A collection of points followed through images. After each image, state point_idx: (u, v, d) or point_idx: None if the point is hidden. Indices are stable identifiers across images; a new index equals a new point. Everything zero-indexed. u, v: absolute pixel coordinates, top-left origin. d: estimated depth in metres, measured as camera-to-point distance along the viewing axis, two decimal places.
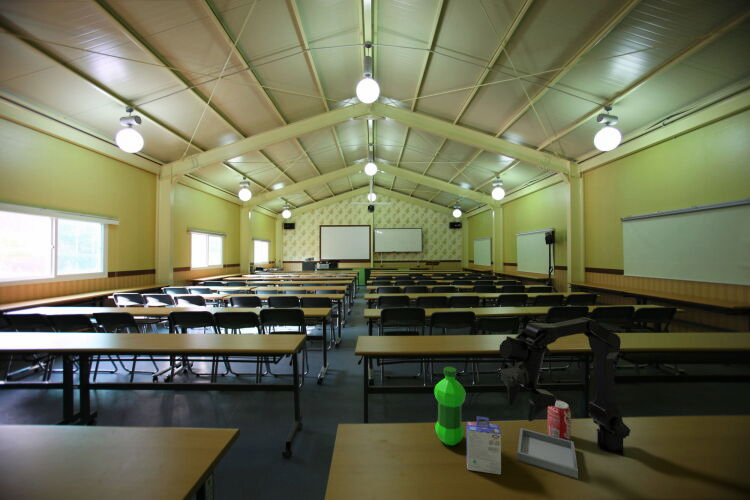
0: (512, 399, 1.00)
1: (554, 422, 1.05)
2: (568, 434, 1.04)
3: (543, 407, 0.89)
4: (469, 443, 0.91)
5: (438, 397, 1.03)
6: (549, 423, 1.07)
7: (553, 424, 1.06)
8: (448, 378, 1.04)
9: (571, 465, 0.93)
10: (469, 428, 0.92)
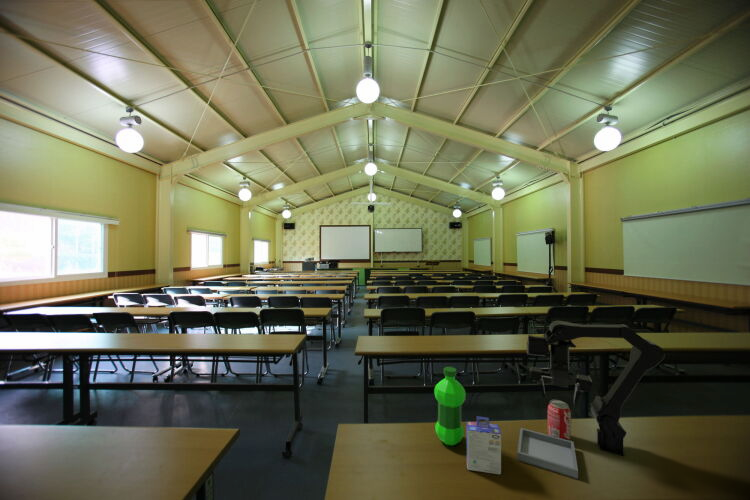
0: (544, 393, 1.09)
1: (554, 422, 1.05)
2: (568, 434, 1.04)
3: None
4: (469, 443, 0.91)
5: (438, 397, 1.03)
6: (549, 423, 1.07)
7: (553, 424, 1.06)
8: (448, 378, 1.04)
9: (571, 465, 0.93)
10: (469, 428, 0.92)
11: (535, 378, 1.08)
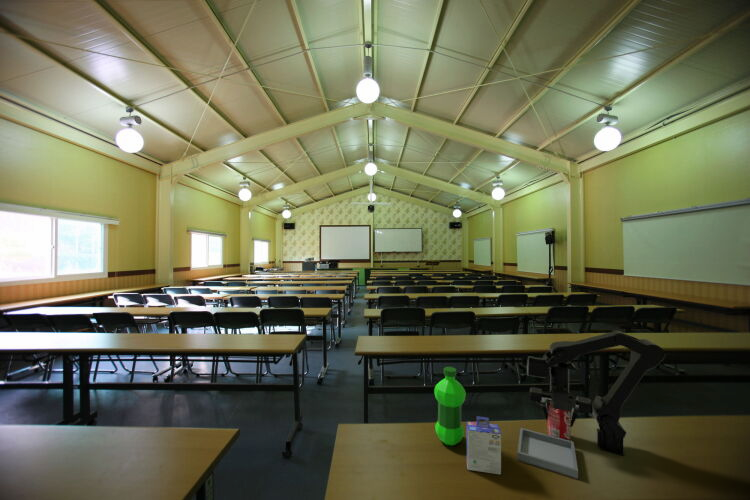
0: (547, 415, 1.09)
1: (554, 422, 1.05)
2: (568, 434, 1.04)
3: None
4: (469, 443, 0.91)
5: (438, 397, 1.03)
6: (549, 423, 1.07)
7: (553, 424, 1.06)
8: (448, 378, 1.04)
9: (571, 465, 0.93)
10: (469, 428, 0.92)
11: (535, 400, 1.08)
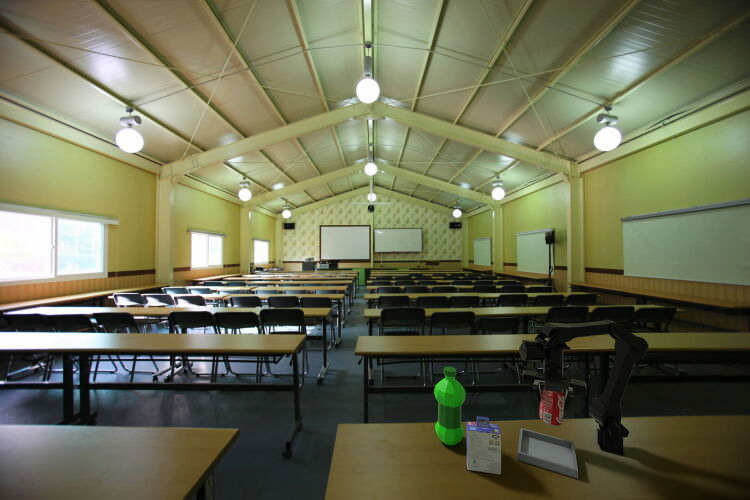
0: None
1: (546, 406, 1.01)
2: (560, 419, 1.00)
3: None
4: (469, 443, 0.91)
5: (438, 397, 1.03)
6: (541, 406, 1.03)
7: (545, 407, 1.01)
8: (448, 378, 1.04)
9: (571, 465, 0.93)
10: (469, 428, 0.92)
11: (527, 382, 1.04)
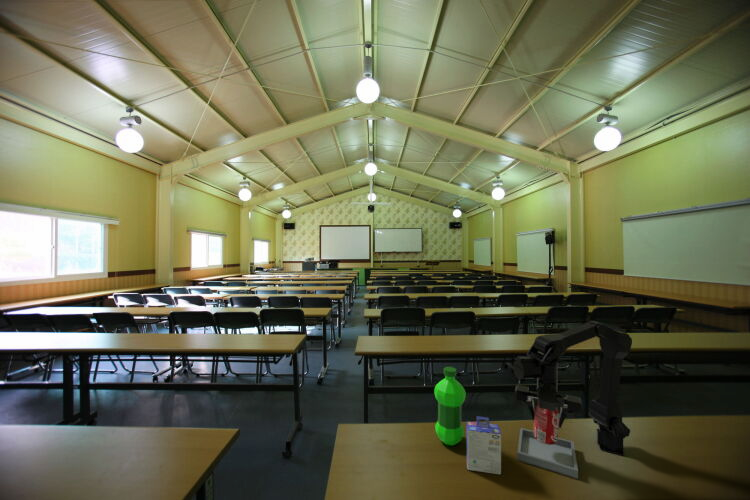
0: (534, 415, 1.00)
1: (540, 424, 0.96)
2: (555, 437, 0.95)
3: None
4: (469, 443, 0.91)
5: (438, 397, 1.03)
6: (535, 424, 0.98)
7: (539, 425, 0.97)
8: (448, 378, 1.04)
9: (571, 465, 0.93)
10: (469, 428, 0.92)
11: (521, 399, 0.99)
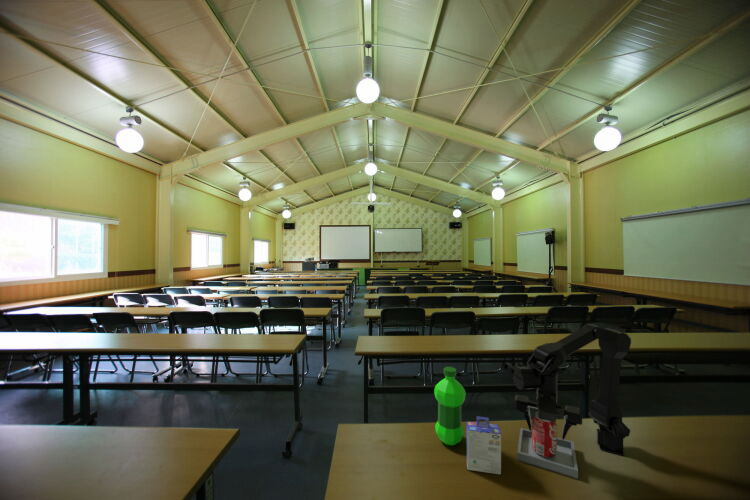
0: None
1: (538, 437, 0.97)
2: (554, 449, 0.96)
3: None
4: (469, 443, 0.91)
5: (438, 397, 1.03)
6: (533, 437, 0.98)
7: (537, 438, 0.97)
8: (448, 378, 1.04)
9: (571, 465, 0.93)
10: (469, 428, 0.92)
11: (520, 409, 0.99)
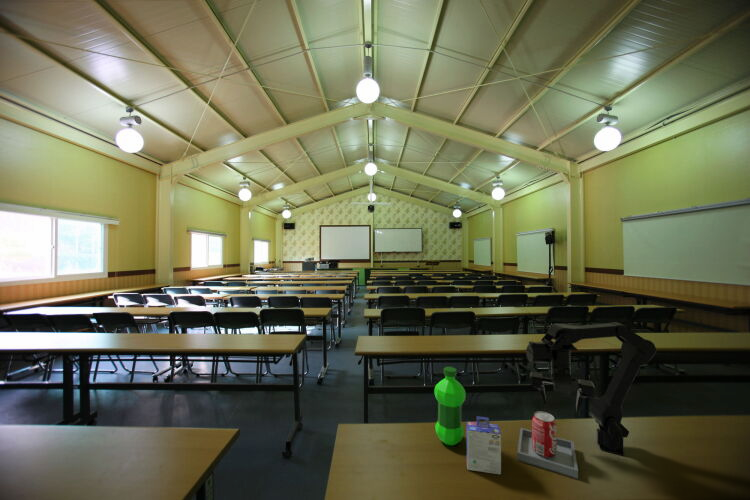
0: (545, 399, 1.05)
1: (538, 437, 0.97)
2: (554, 449, 0.96)
3: None
4: (469, 443, 0.91)
5: (438, 397, 1.03)
6: (533, 437, 0.98)
7: (537, 438, 0.97)
8: (448, 378, 1.04)
9: (571, 465, 0.93)
10: (469, 428, 0.92)
11: (536, 384, 1.04)
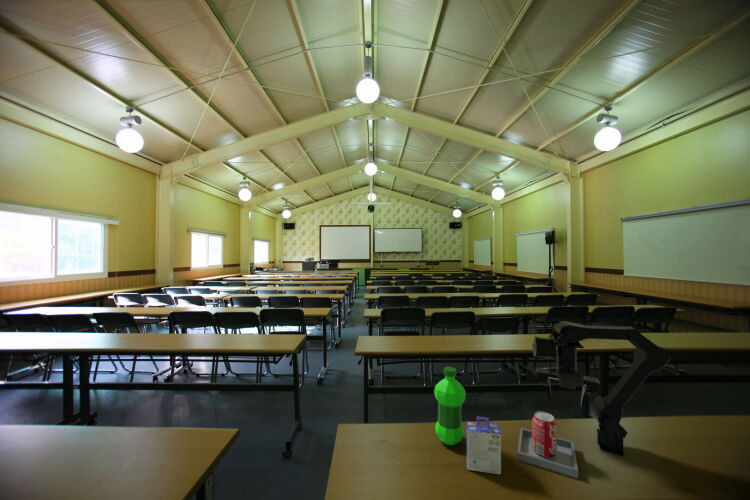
0: None
1: (538, 437, 0.97)
2: (554, 449, 0.96)
3: None
4: (469, 443, 0.91)
5: (438, 397, 1.03)
6: (533, 437, 0.98)
7: (537, 438, 0.97)
8: (448, 378, 1.04)
9: (571, 465, 0.93)
10: (469, 428, 0.92)
11: (541, 379, 1.06)
